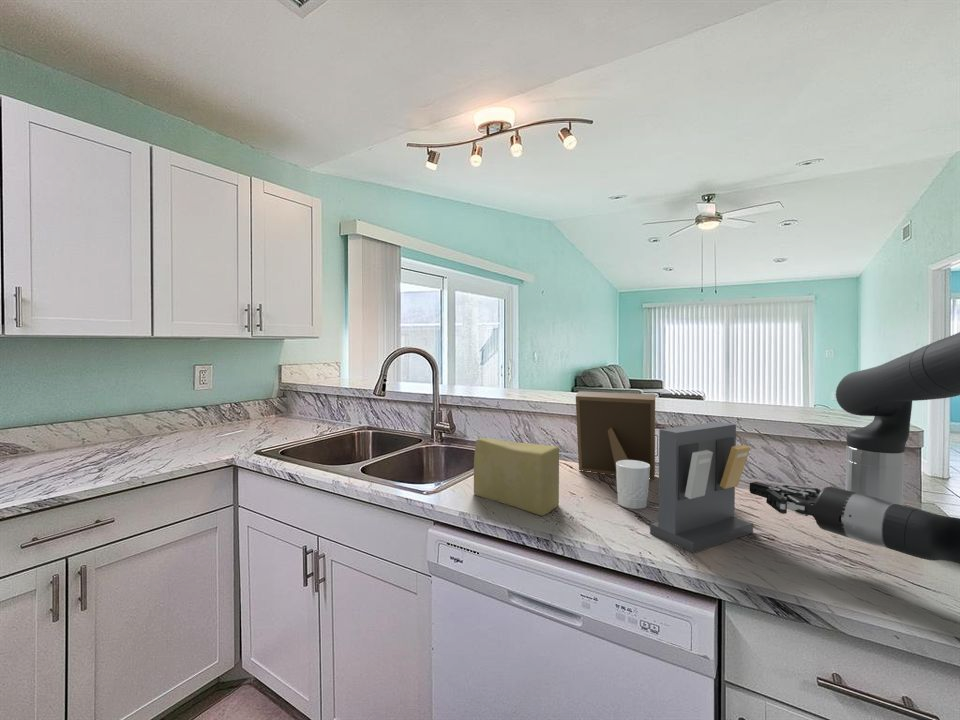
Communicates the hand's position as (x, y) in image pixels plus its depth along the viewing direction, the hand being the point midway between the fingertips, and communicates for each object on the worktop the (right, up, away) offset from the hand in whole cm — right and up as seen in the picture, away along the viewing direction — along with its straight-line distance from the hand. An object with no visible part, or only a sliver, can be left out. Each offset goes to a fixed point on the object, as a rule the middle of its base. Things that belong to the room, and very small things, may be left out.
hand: (751, 487), depth 89 cm
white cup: (-17, -10, +21) cm, 28 cm away
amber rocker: (-2, -1, +4) cm, 5 cm away
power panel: (-8, -11, +4) cm, 14 cm away
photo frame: (-15, -10, +42) cm, 46 cm away
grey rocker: (-12, -1, -2) cm, 12 cm away
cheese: (-46, -10, +22) cm, 52 cm away
